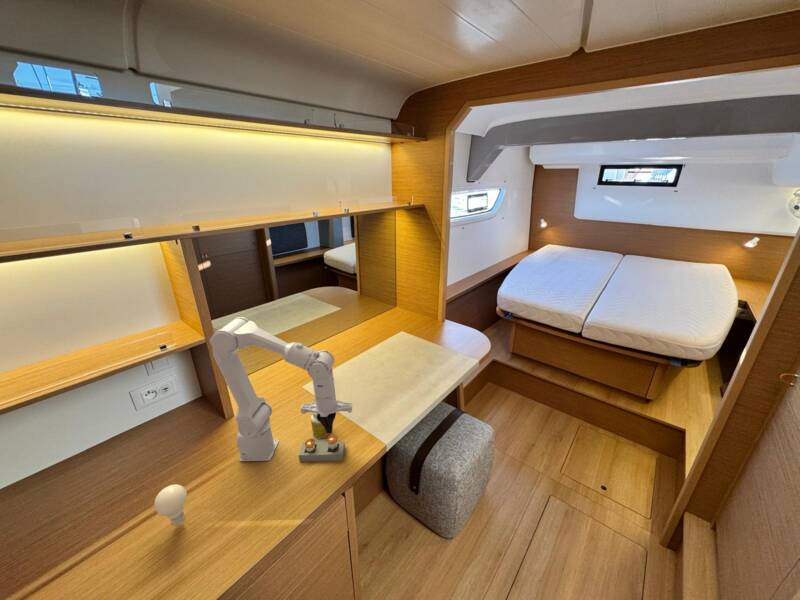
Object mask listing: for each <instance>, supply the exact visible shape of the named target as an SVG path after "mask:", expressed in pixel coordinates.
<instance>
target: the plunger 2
mask: <svg viewBox="0 0 800 600" xmlns="http://www.w3.org/2000/svg"><path fill="white" fill-rule="evenodd" d="M326 440H327V442H328V444H329V451H330V452H338V445H337V442H338V436H337V435H335V434H331V435H329V436H327V438H326Z"/></svg>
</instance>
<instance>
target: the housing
mask: <svg viewBox="0 0 800 600" xmlns="http://www.w3.org/2000/svg"><path fill="white" fill-rule="evenodd" d="M314 440H315V453H307V451H306V447H305V442H302V446H301V447H300V451H299V453H298V460H299V462H336V461H337V462H340V461H341V462H342V461H343V460H344V456H345V449H346V444H345V441H337V445H338V450H337V451H336V452H330V451H329V444H328V441H327V439H314Z"/></svg>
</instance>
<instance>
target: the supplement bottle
mask: <svg viewBox="0 0 800 600" xmlns="http://www.w3.org/2000/svg"><path fill="white" fill-rule="evenodd" d="M310 422H311V431H312V436H313V437H314V438H315V439H322V438H325V437H326V436H327V437H328V435H329V433H327V432H326V430H325V428H324V426H323V425H322V424H321V423H320V422H319V421H318V420H317V413H313V412H311V416H310Z"/></svg>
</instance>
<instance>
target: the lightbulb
mask: <svg viewBox="0 0 800 600" xmlns="http://www.w3.org/2000/svg"><path fill="white" fill-rule="evenodd" d="M187 494H188V493H187V490H186V488H185V487H184V486H182V485H181V484H178V483H177V484H176V483H175V484H170V485H168V486H165V487H164V488H162V489H161V490H160V491H159V493H158V494H157V495H156V497H155V499H154V502H153V507H154V510H155V512H156V513H157V514H159V516H164V517H167V518H168V519H169V520H170V522H171V524H172V526H174V527H176V526H179V525H181V524H182V523H184V521H185V519H186V516H185V513H184V505H185V504H186V501H187V496H188V495H187Z"/></svg>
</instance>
